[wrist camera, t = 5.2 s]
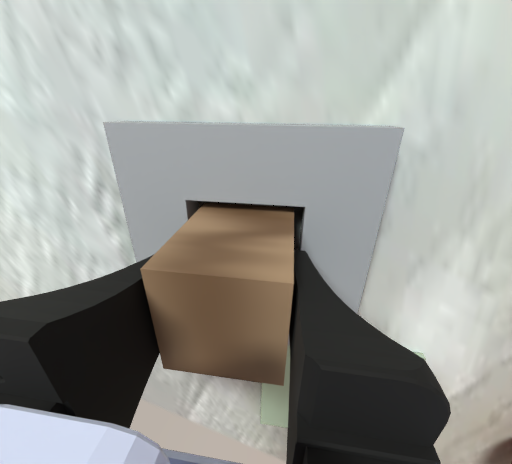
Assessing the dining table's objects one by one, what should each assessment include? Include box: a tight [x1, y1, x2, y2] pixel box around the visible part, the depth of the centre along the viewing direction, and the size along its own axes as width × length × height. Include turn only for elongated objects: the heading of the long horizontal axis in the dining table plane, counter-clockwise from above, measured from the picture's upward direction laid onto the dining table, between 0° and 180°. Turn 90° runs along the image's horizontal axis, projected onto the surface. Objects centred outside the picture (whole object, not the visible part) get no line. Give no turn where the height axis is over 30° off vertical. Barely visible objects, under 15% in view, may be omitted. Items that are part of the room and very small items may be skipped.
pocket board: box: [103, 121, 404, 346], centre depth 13 cm, size 12×12×2 cm
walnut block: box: [140, 202, 294, 386], centre depth 11 cm, size 4×4×6 cm
